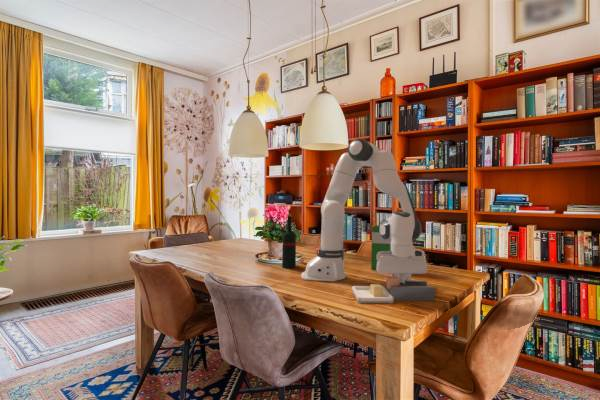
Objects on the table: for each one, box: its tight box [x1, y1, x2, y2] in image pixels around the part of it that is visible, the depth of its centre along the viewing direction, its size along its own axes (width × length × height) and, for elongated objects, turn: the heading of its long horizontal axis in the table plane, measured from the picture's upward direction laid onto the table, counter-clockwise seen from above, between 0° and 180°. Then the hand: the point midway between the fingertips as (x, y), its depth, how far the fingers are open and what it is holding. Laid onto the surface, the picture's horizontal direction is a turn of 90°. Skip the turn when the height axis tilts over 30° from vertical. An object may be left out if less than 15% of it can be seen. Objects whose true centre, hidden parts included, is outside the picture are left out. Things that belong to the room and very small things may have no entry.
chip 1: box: [369, 283, 384, 297], centre depth 140 cm, size 4×4×4 cm
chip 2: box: [385, 275, 399, 289], centre depth 140 cm, size 4×4×4 cm
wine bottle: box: [281, 213, 297, 269], centre depth 193 cm, size 8×10×30 cm
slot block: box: [385, 280, 436, 302], centre depth 140 cm, size 17×10×6 cm, turn 90°
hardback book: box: [370, 225, 391, 271], centre depth 188 cm, size 18×7×24 cm, turn 75°
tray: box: [351, 285, 395, 304], centre depth 140 cm, size 14×16×2 cm
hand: (401, 284), depth 140 cm, fingers closed
